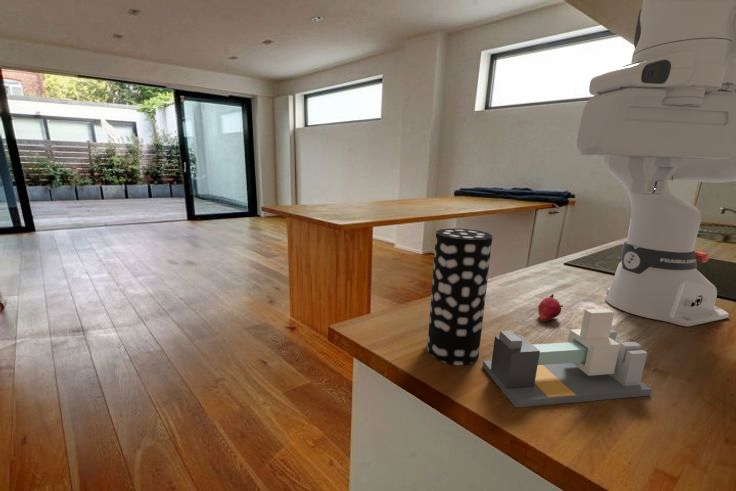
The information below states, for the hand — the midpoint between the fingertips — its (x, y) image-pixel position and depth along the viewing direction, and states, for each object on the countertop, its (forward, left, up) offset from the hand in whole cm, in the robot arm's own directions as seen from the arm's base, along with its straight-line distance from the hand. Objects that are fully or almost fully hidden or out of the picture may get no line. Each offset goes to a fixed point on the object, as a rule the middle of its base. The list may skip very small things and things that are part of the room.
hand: (647, 194), depth 44 cm
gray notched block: (0, 0, -27) cm, 27 cm away
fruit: (-4, -19, -27) cm, 33 cm away
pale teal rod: (+8, 0, -24) cm, 25 cm away
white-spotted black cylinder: (+20, -9, -27) cm, 35 cm away
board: (+8, 0, -27) cm, 28 cm away
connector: (+16, 0, -27) cm, 31 cm away
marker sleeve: (+3, 0, -25) cm, 25 cm away
